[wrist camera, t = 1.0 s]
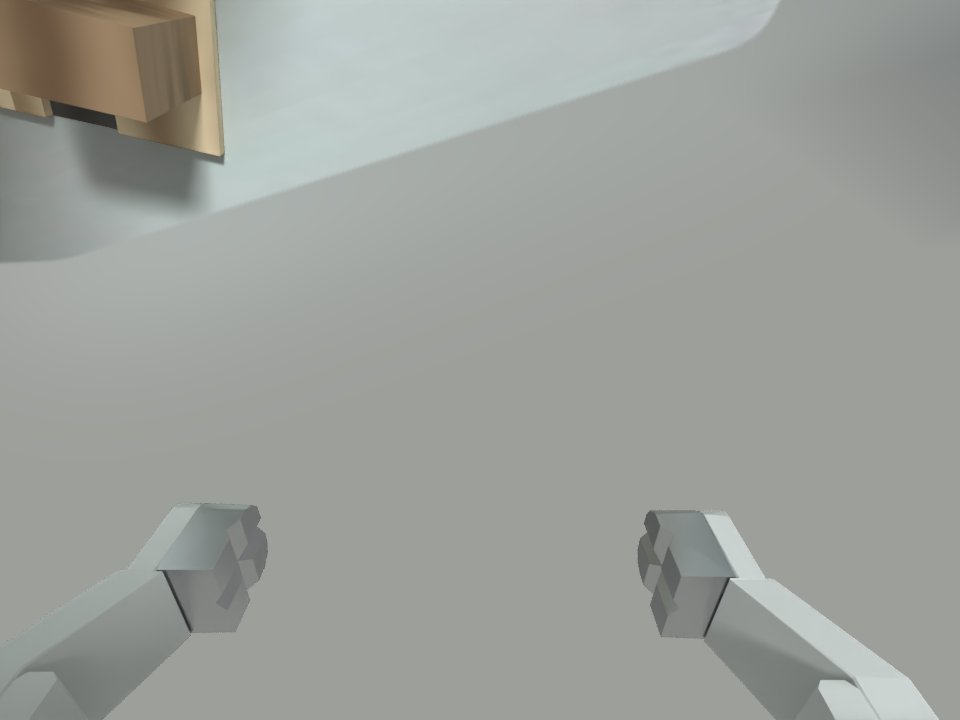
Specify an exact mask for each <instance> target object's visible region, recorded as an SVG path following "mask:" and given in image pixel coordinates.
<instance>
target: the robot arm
mask: <svg viewBox="0 0 960 720" xmlns="http://www.w3.org/2000/svg"><path fill="white" fill-rule="evenodd" d="M260 518H261V517H260V514H259V511H258V508H257V507H256V506H253V505H234V504H210V503H209V504H208V503H205V504H198V503H179V504H178V505H176V506H174V507H173V508H172V509H171V510H170V512H169V513H168V514H167V516H166V517H165V518H164V520H163V521H162V522H161V524H160V525H159V526H158V528H157V529H156V530H155V532H154V533H153V534H152V536H151V537H150V539H149V540H148V541H147V543H146V544H145V545H144V547H143V548H142V549H141V551H140V552H139V553H138V555H137V556H136V558H135V559H134V560H133V561H132V563H131V564H130V566H129V567H128V568H127V570H126V571H117V572H115V573H113V574H112V575H110V576H109V577H107V578H105V579H104V580H102V581H101V582H99V583H98V584H96V585H94V586H93V587H91V588H90V589H88V590H86V591H85V592H84V593H82V594H80V595H79V596H77V597H75V598H74V599H72V600H71V601H69V602H68V603H66V604H64V605H63V606H61V607H60V608H58V609H57V610H55V611H53V612H52V613H50V614H49V615H47V616H45V617H44V618H43V619H41V620H39V621H38V622H36V623H34V624H33V625H31V626H30V627H28V628H26V629H25V630H23V631H22V632H20V633H18V634H17V635H15V636H14V637H12V638H11V639H9V640H7V641H6V642H4V643H3V644H1V645H0V720H102V719H104V718H105V717H106V716H107V715H108V714H109V713H110V712H111V711H112V710H113V709H114V708H115V707H116V706H117V705H119V704H120V703H121V702H122V701H123V700H124V699H125V698H126V697H127V696H128V695H129V694H130V693H131V692H132V691H133V690H134V689H135V688H136V687H137V686H138V685H140V684H141V683H142V682H143V681H144V680H145V679H146V678H147V677H148V676H149V675H150V674H151V673H152V672H153V671H154V670H155V669H156V668H158V666H160V664H162V663H163V662H164V661H165V660H166V659H167V658H168V657H169V656H170V655H171V654H172V653H173V652H174V651H175V650H176V649H178V648H179V647H180V646H181V645H182V644H183V643H184V642H185V641H186V640H187V639H188V638H189V637H190V636H191V633H207V632H208V633H212V632H236V630H237V628H238V625H239V623H240V621H241V619H242V617H243V615H244V612H245V610H246V608H247V606H248V604H249V601H250V599H249V596H248V592H247V590H248V589H249V588H250V587H251V586H252V585H253V584H255V583H256V582H257V581H259V579H260V577H261V574H262V572H263V569H264V567H265V562H266V558H267V552H268V550H267V539H266V535H265V533H264V532H263V531H262V530H260V529H259V528H258V527H257V525H258V523H259V521H260ZM644 525H645V527H646V530H647V533H646V534H645V535H644V536H642V537H641V538H640V541H639V546H638V566H639V571H640V576H641V579H642V582H643V585H644V586H645V587H646V588H647V589H648V590H650V591H651V592H652V593H653V597H652V601H651V604H650V606H651V609H652V612H653V615H654V618H655V621H656V624H657V627H658V630H659V632H660V636H661V637H675V638H700V639H705V640H704V642H705V643H706V644H707V645H708V646H709V647H710V648H711V649H712V650H713V651H714V652H715V653H716V655H717V656H718V657H719V658H720V659H721V660H722V661H723V662H724V663H725V665H726V666H727V667H728V668H729V669H730V670H731V671H732V672H733V673H734V674H735V676H736V677H737V678H738V679H739V680H740V681H741V682H742V683H743V684H744V685H745V686H746V688H747V689H748V690H749V691H750V692H751V693H752V694H753V695H754V696H755V697H756V698H757V700H758V701H759V702H760V703H761V704H762V705H763V706H764V707H765V708H766V709H767V711H768V712H769V713H770V714H771V715H772V716H773V717H774V718H775V719H776V720H939V719H938V718H937V716H936V715H935V713H933V711H932V709H931V708H930V707H929V705H928V704H927V702H926V701H925V700H924V698H923V697H922V696H921V694H920V693H919V692H918V690H917V689H916V687H915V686H914V685H913V683H912V682H911V681H910V679H909V678H907V677H906V676H904V675H903V674H902V673H900V672H899V671H897V670H896V669H895V668H894V667H892V666H891V665H890V664H888V663H887V662H885V661H884V660H883V659H881V658H880V657H878V656H877V655H876V654H875V653H873V652H872V651H871V650H869V649H868V648H866V647H865V646H864V645H862V644H861V643H860V642H858V641H857V640H855V639H854V638H853V637H851V636H850V635H849V634H847V633H846V632H845V631H843V630H842V629H841V628H839V627H838V626H837V625H835V624H834V623H832V622H831V621H830V620H828V619H827V618H826V617H824V616H823V615H822V614H820V613H819V612H817V611H816V610H815V609H814V608H812V607H811V606H809V605H808V604H807V603H805V602H804V601H803V600H801V599H800V598H799V597H797V596H796V595H794V594H793V593H792V592H790V591H789V590H788V589H786V588H785V587H784V586H782V585H781V584H780V583H778V582H777V581H775V580H774V579H766V578H765V577H764V575H763V573H762V572H761V570H760V568H759V567H758V565H757V563H756V561H755V560H754V558H753V557H752V555H751V553H750V552H749V550H748V548H747V546H746V545H745V543H744V541H743V540H742V538H741V536H740V535H739V533H738V531H737V530H736V528H735V526H734V525H733V523H732V521H731V520H730V518H729V516H728V515H727V514H726V513H725V512H724V511H695V510H685V511H684V510H682V511H681V510H650V511H649V512H648V513H647V515H646V518H645V522H644Z"/></svg>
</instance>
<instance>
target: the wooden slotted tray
mask: <svg viewBox="0 0 960 720" xmlns="http://www.w3.org/2000/svg"><path fill="white" fill-rule="evenodd" d="M140 1H143V2H147V3H150V4H154V5H158V6H161V7H165V8H169V9H172V10H176V11H179V12H183V13H187V14H190V15H194V16H195V20H196V32H197V44H198V55H199V67H200V79H201V90H202V94H200V95H198V96H196V97H194V98H192V99H190V100H188V101H186V102H185V103H183V104H181V105H179V106H177V107H175V108H173V109H171V110H169V111H168V112H166V113H164V114H162V115H160V116H158V117H156V118H154V119H152V120H151V121H149V122H142V121H138V120H134V119H129V118H125V117H121V116H116V115H112V114H108V113H103V112H99V111H95V110H90V109H86V108H82V107H77V106H73V105H69V104H64V103H60V102H56V101H51V100H47V99H43V98H38V97H34V96H30V95H25V94H21V93H17V92H12V91H8V90H4V89H0V107H2V108H7V109H11V110H16V111H20V112H24V113H29V114H33V115H38V116H42V117H48V116H51V115H57V116H62V117H66V118H71V119H75V120H79V121H84V122H88V123H93V124H97V125H102V126H106V127H110V128H115V129H118V134H123V135H127V136H132V137H136V138H141V139H145V140H149V141H154V142H158V143H163V144H167V145H172V146H176V147H181V148H185V149H190V150H194V151H199V152H203V153H207V154H212V155H216V156H221V155H222V154H224V138H223V122H222V106H221V91H220V75H219V59H218V44H217V28H216V13H215V0H140Z"/></svg>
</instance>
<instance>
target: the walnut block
mask: <svg viewBox="0 0 960 720" xmlns="http://www.w3.org/2000/svg"><path fill="white" fill-rule="evenodd" d="M0 89H4V90H8V91H12V92H17V93H21V94H25V95H30V96H34V97H38V98H43V99H47V100H51V101H56V102H60V103H64V104H69V105H73V106H77V107H82V108H86V109H90V110H95V111H99V112H103V113H108V114H112V115H116V116H121V117H125V118H129V119H134V120H138V121H142V122H149V121H151V120H152V119H154V118H156V117H158V116H160V115H162V114H164V113H166V112H168V111H169V110H171V109H173V108H175V107H177V106H179V105H181V104H183V103H185V102H186V101H188V100H190V99H192V98H194V97H196V96H198V95H200V94H202V90H201V79H200V67H199V55H198V44H197V32H196V20H195V16H194V15H190V14H187V13H183V12H179V11H176V10H172V9H169V8H165V7H161V6H158V5H154V4H150V3H147V2H143V1H140V0H0Z"/></svg>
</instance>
